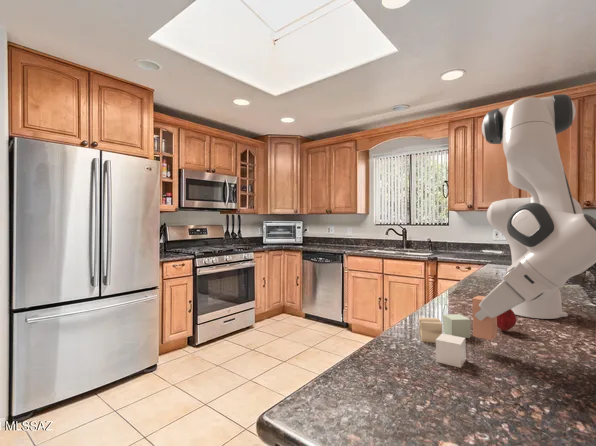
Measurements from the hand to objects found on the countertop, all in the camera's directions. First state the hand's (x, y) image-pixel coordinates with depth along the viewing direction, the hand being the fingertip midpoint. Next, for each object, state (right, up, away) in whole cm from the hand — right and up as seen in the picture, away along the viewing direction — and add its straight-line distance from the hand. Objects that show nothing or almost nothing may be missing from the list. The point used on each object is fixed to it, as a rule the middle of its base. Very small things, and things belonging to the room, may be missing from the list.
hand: (481, 314), depth 77 cm
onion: (+14, -9, +14) cm, 22 cm away
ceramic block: (-10, -9, -5) cm, 14 cm away
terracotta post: (+1, -5, 0) cm, 5 cm away
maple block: (-9, -9, +9) cm, 15 cm away
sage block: (0, -9, +12) cm, 15 cm away
